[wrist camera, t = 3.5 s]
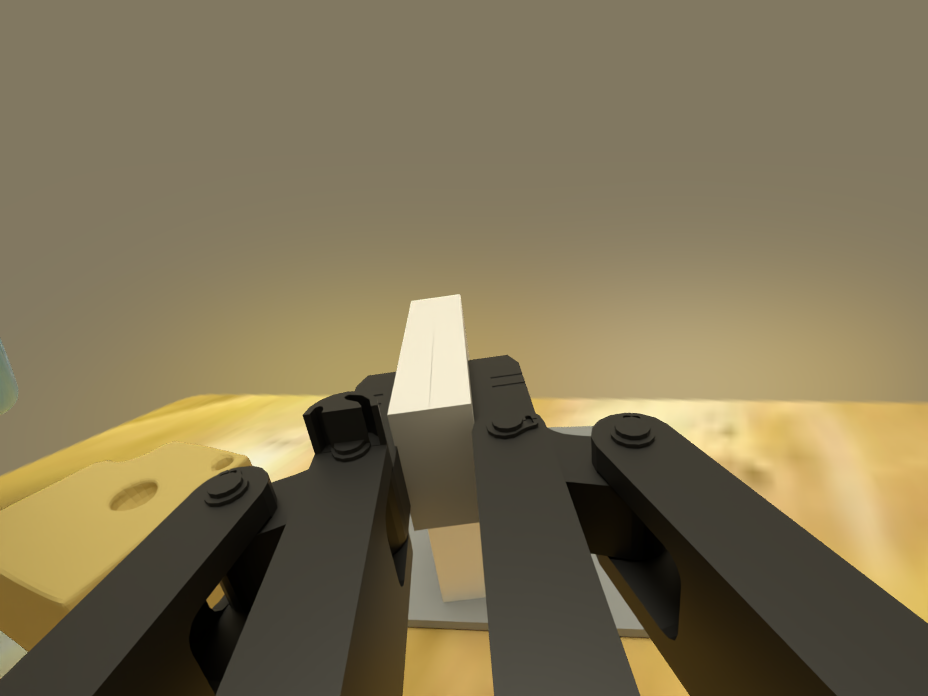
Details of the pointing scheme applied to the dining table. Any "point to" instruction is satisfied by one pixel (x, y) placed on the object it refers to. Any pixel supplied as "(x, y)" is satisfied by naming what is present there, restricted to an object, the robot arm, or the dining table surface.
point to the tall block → (458, 561)
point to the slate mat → (473, 612)
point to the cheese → (91, 531)
